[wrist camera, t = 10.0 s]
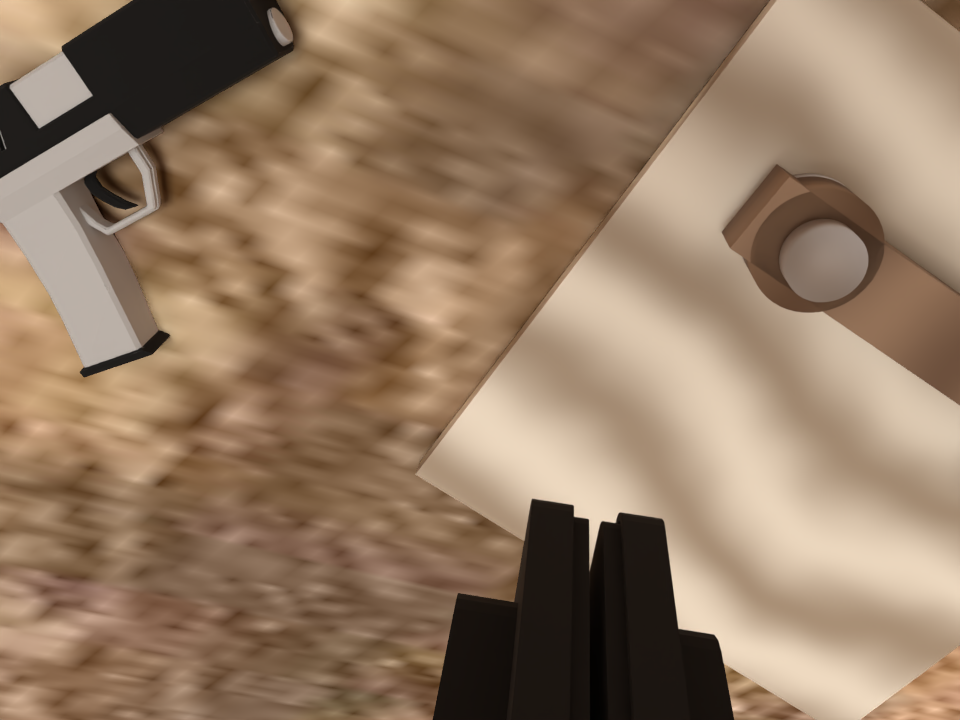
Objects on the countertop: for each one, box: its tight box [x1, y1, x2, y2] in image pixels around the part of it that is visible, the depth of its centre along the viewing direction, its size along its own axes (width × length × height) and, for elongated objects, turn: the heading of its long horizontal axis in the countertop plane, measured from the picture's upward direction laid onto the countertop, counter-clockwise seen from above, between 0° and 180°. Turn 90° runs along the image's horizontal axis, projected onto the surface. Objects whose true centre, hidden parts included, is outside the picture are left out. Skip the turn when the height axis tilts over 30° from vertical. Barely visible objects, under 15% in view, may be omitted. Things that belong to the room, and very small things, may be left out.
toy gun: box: [0, 0, 294, 377], centre depth 32 cm, size 3×16×12 cm
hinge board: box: [415, 0, 960, 720], centre depth 32 cm, size 26×25×6 cm
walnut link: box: [722, 164, 960, 405], centre depth 30 cm, size 19×4×2 cm, turn 58°
